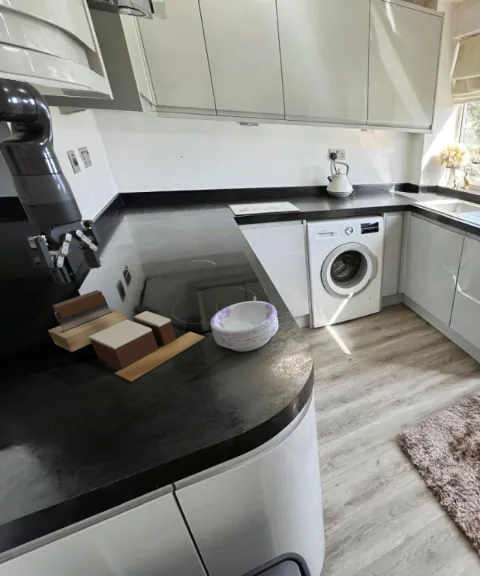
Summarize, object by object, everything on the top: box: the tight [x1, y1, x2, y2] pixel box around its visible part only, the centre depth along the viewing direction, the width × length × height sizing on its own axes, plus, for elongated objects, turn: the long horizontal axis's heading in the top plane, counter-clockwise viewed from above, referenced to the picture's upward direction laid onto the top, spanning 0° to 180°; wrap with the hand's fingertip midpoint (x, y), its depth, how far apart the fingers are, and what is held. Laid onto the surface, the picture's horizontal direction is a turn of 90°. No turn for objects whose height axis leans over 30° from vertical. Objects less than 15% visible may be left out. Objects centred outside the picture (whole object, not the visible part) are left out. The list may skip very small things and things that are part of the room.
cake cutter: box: [52, 289, 111, 332], centre depth 80 cm, size 10×2×12 cm, turn 156°
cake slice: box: [133, 310, 177, 346], centre depth 80 cm, size 9×3×6 cm, turn 66°
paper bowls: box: [209, 300, 279, 352], centre depth 81 cm, size 15×15×8 cm
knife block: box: [47, 306, 128, 353], centre depth 82 cm, size 13×7×5 cm, turn 156°
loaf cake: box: [89, 319, 159, 370], centre depth 74 cm, size 9×8×6 cm
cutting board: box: [114, 331, 206, 382], centre depth 79 cm, size 20×18×1 cm
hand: (80, 275), depth 69 cm, fingers open, 8 cm apart
